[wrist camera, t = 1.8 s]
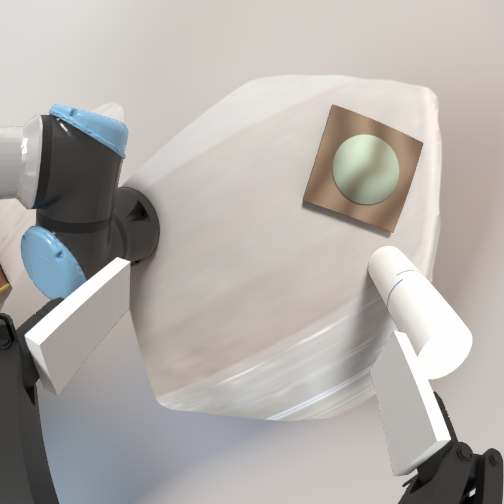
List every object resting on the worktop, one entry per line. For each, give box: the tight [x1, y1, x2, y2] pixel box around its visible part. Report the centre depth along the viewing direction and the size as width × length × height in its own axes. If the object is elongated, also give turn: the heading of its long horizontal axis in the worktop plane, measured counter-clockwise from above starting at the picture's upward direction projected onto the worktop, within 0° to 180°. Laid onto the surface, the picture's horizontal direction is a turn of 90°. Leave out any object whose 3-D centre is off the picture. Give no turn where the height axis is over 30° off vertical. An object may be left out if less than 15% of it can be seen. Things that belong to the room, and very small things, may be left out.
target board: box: [303, 105, 423, 233], centre depth 41 cm, size 16×16×2 cm
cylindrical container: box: [368, 246, 472, 379], centre depth 35 cm, size 7×7×25 cm
